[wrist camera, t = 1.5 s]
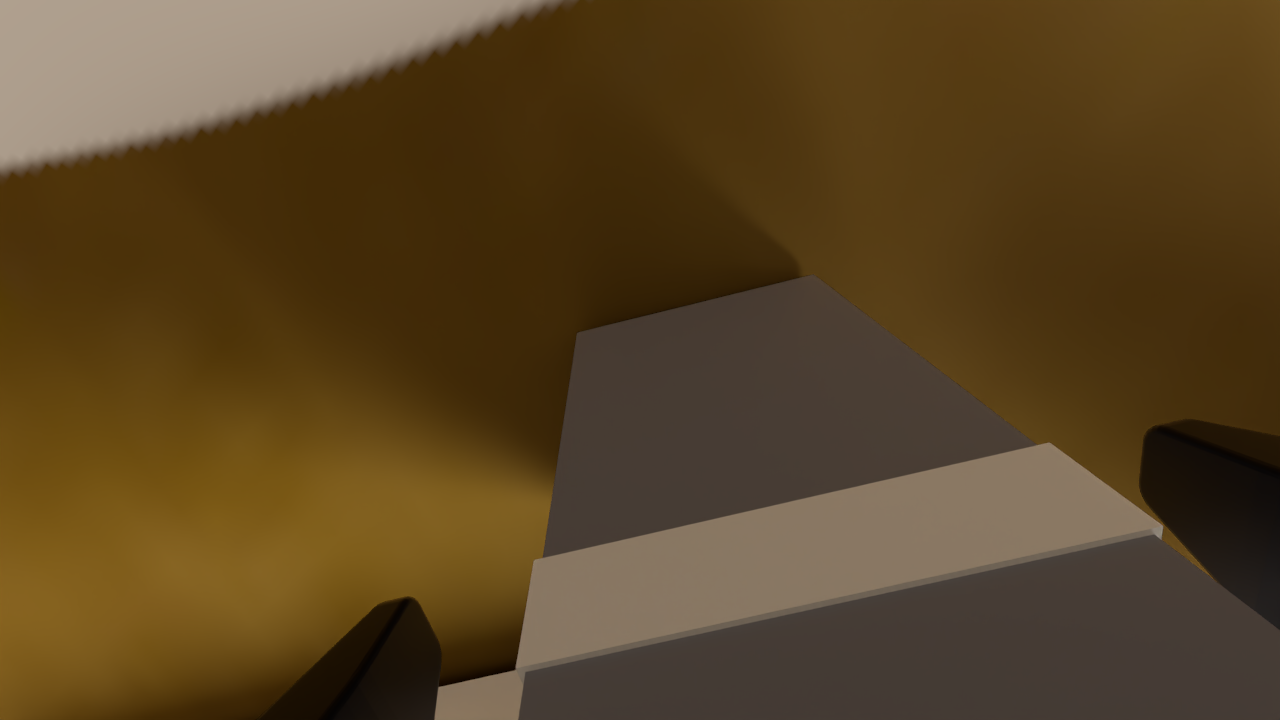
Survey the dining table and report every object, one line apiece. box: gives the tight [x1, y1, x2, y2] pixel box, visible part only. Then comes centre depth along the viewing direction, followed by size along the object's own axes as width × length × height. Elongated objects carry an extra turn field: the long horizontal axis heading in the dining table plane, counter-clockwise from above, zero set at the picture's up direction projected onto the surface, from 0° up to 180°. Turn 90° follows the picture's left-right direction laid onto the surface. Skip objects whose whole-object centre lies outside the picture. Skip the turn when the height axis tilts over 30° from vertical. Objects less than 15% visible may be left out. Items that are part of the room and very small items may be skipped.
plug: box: [516, 274, 1280, 720], centre depth 7 cm, size 4×4×8 cm
